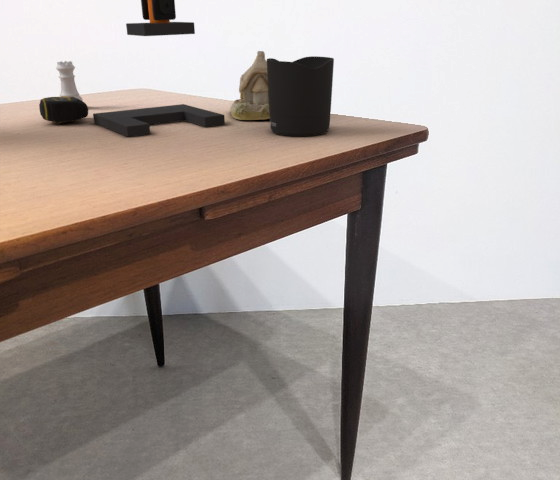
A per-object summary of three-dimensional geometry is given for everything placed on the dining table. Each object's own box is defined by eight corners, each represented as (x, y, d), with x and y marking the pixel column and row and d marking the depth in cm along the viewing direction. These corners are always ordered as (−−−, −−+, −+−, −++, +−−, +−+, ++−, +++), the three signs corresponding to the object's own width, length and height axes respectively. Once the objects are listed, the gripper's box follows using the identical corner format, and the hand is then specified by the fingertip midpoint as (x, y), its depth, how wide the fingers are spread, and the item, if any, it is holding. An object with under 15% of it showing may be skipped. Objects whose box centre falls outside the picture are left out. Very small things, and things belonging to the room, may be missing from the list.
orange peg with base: (145, 36, 82) (138, -26, 79) (127, 34, 87) (120, -24, 83) (195, 33, 86) (190, -26, 83) (175, 32, 91) (170, -24, 87)
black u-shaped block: (127, 137, 86) (126, 126, 85) (94, 123, 96) (92, 113, 96) (225, 124, 94) (224, 114, 94) (184, 112, 105) (183, 104, 104)
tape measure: (91, 123, 96) (87, 99, 95) (46, 127, 93) (42, 102, 92) (80, 117, 102) (77, 94, 100) (38, 121, 99) (34, 97, 97)
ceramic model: (232, 107, 109) (230, 48, 105) (294, 107, 109) (294, 48, 105) (225, 121, 96) (222, 55, 92) (296, 121, 96) (296, 54, 92)
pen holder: (279, 124, 94) (278, 55, 90) (338, 127, 91) (340, 56, 87) (259, 135, 86) (257, 61, 82) (323, 139, 83) (324, 62, 79)
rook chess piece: (54, 108, 110) (47, 61, 107) (77, 105, 113) (71, 60, 110) (65, 111, 107) (57, 63, 104) (88, 108, 110) (82, 61, 107)
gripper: (94, -129, 82) (113, 19, 90) (142, -153, 70) (159, 21, 77) (146, -124, 86) (159, 18, 93) (200, -146, 73) (210, 19, 81)
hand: (159, 18), depth 85 cm, fingers closed on orange peg with base, 2 cm apart
